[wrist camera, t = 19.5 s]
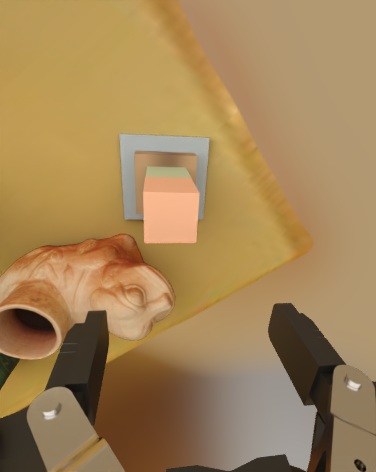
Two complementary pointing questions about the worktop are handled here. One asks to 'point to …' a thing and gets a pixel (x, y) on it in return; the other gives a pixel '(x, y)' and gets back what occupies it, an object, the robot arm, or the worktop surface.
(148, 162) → the walnut base
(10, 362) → the coffee jar
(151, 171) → the sage block
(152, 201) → the terracotta block
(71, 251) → the ceramic vessel
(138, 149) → the board
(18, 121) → the worktop surface
